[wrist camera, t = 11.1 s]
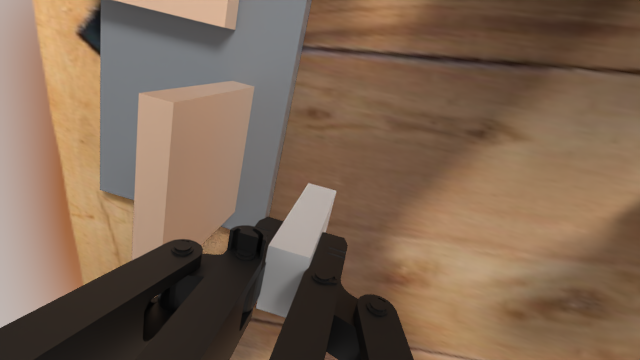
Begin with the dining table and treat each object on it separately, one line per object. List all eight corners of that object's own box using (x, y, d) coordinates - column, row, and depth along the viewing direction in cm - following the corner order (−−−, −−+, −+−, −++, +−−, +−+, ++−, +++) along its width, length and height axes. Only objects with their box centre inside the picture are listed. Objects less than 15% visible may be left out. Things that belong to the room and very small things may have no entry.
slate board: (118, -207, 20) (101, -223, 18) (344, -165, 18) (341, -179, 17) (111, 184, 28) (99, 189, 27) (266, 231, 27) (260, 238, 26)
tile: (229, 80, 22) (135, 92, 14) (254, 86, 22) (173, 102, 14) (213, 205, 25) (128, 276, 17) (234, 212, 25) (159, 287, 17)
